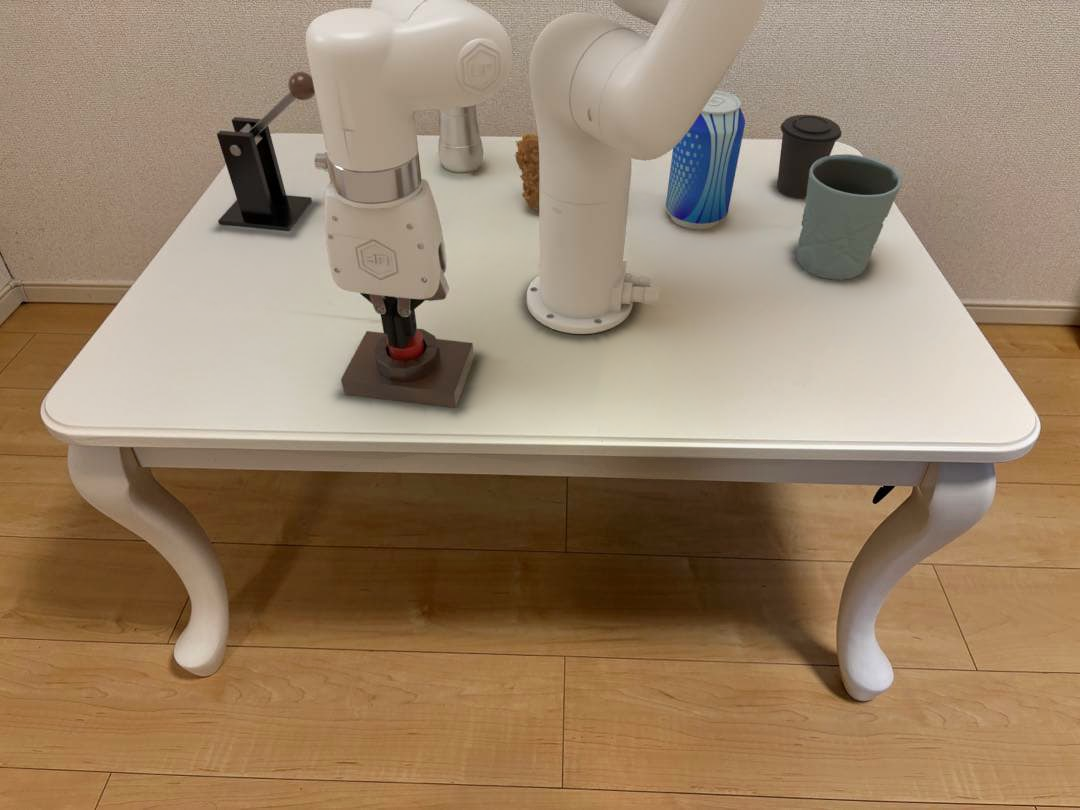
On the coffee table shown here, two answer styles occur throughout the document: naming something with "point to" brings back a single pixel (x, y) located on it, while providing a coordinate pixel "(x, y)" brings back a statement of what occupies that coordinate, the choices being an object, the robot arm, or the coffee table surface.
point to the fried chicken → (529, 168)
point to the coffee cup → (803, 150)
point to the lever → (284, 102)
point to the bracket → (257, 182)
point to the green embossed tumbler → (844, 214)
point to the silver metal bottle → (459, 139)
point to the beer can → (706, 164)
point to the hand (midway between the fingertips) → (401, 338)
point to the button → (408, 349)
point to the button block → (409, 371)
